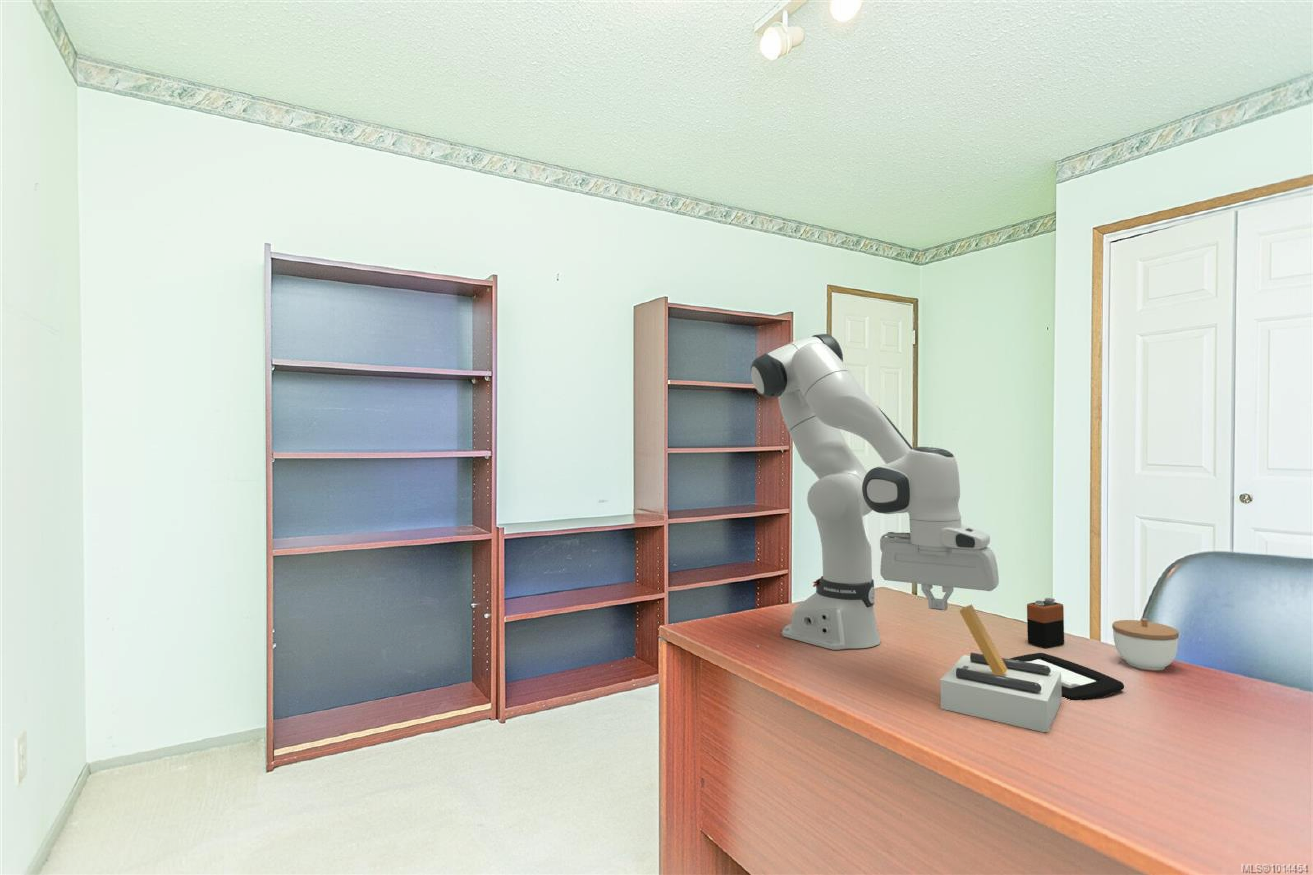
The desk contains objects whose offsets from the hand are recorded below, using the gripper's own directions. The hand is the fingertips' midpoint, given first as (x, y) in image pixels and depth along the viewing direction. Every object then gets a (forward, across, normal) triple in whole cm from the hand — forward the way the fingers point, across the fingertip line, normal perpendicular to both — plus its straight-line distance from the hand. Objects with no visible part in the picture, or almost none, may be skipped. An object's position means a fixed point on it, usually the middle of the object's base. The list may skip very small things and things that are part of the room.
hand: (938, 609), depth 120 cm
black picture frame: (+16, +16, +19) cm, 30 cm away
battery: (+16, +11, +42) cm, 46 cm away
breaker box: (+15, +10, 0) cm, 18 cm away
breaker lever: (+10, +10, 0) cm, 14 cm away
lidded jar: (+16, +29, +38) cm, 50 cm away
